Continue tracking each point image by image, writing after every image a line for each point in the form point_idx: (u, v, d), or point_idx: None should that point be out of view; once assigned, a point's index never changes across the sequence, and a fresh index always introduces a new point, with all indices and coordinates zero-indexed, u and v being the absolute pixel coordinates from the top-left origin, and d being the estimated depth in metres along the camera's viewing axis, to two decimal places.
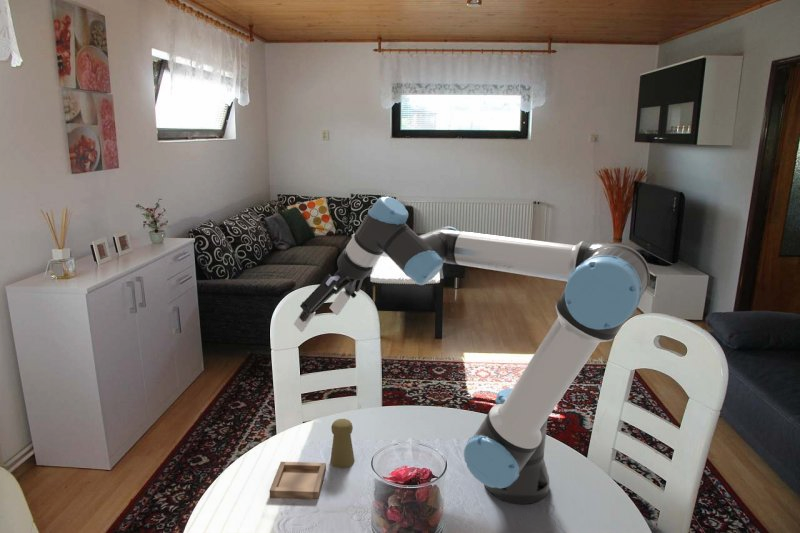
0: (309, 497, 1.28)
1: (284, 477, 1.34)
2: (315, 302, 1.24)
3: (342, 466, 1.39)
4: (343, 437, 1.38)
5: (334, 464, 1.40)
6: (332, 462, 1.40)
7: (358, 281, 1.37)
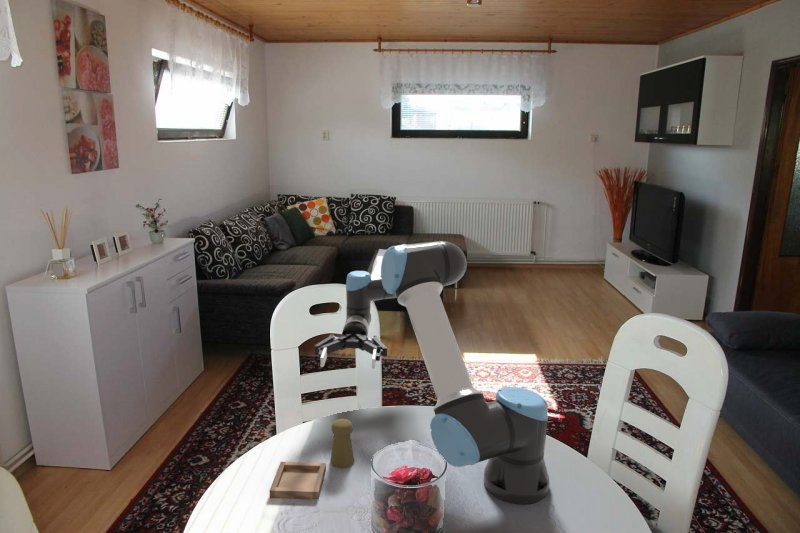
0: (309, 497, 1.28)
1: (284, 477, 1.34)
2: None
3: (342, 466, 1.39)
4: (343, 437, 1.38)
5: (334, 464, 1.40)
6: (332, 462, 1.40)
7: (376, 343, 1.61)
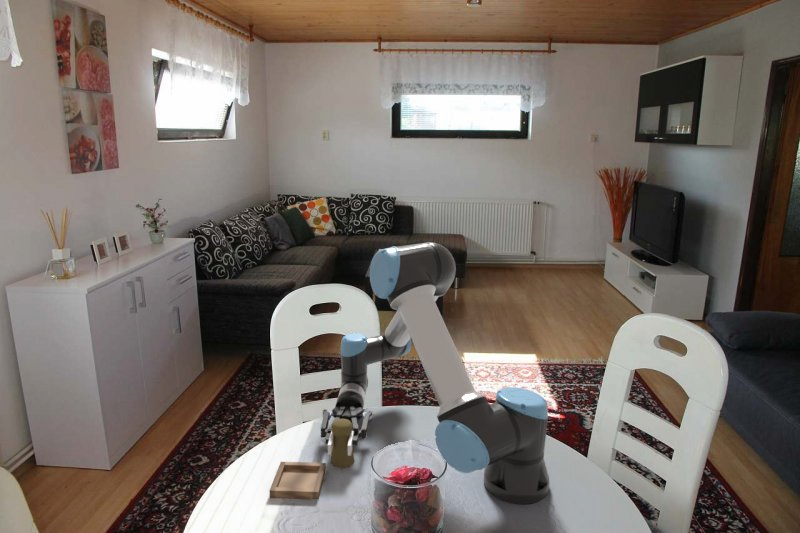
0: (309, 497, 1.28)
1: (284, 477, 1.34)
2: (322, 423, 1.45)
3: (342, 466, 1.39)
4: (343, 437, 1.38)
5: (334, 464, 1.40)
6: (332, 462, 1.40)
7: None
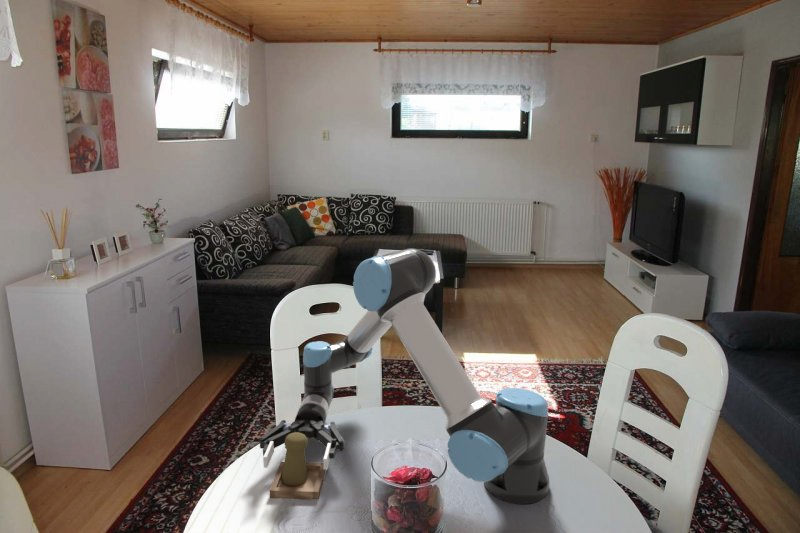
0: (309, 497, 1.28)
1: None
2: None
3: (294, 483, 1.31)
4: (296, 452, 1.30)
5: (285, 481, 1.31)
6: (283, 479, 1.32)
7: (333, 433, 1.39)
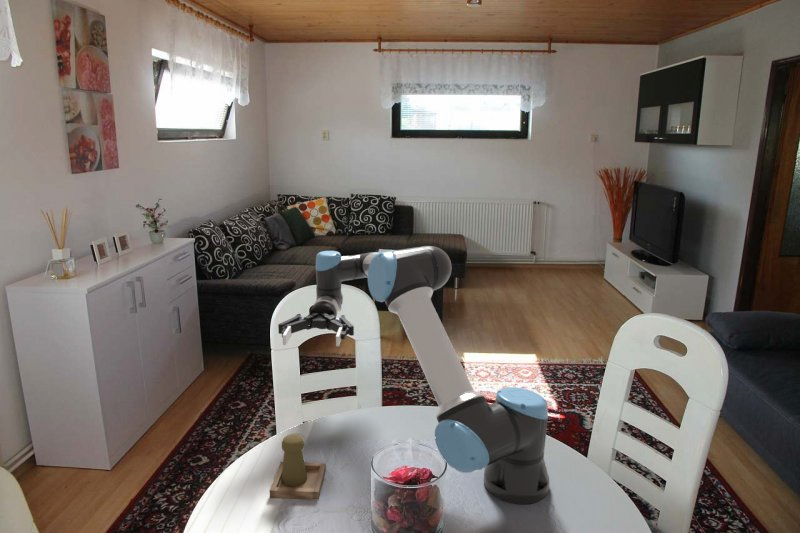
0: (309, 497, 1.28)
1: None
2: None
3: (294, 485, 1.31)
4: (294, 454, 1.30)
5: (285, 483, 1.31)
6: (283, 481, 1.32)
7: (343, 322, 1.56)
